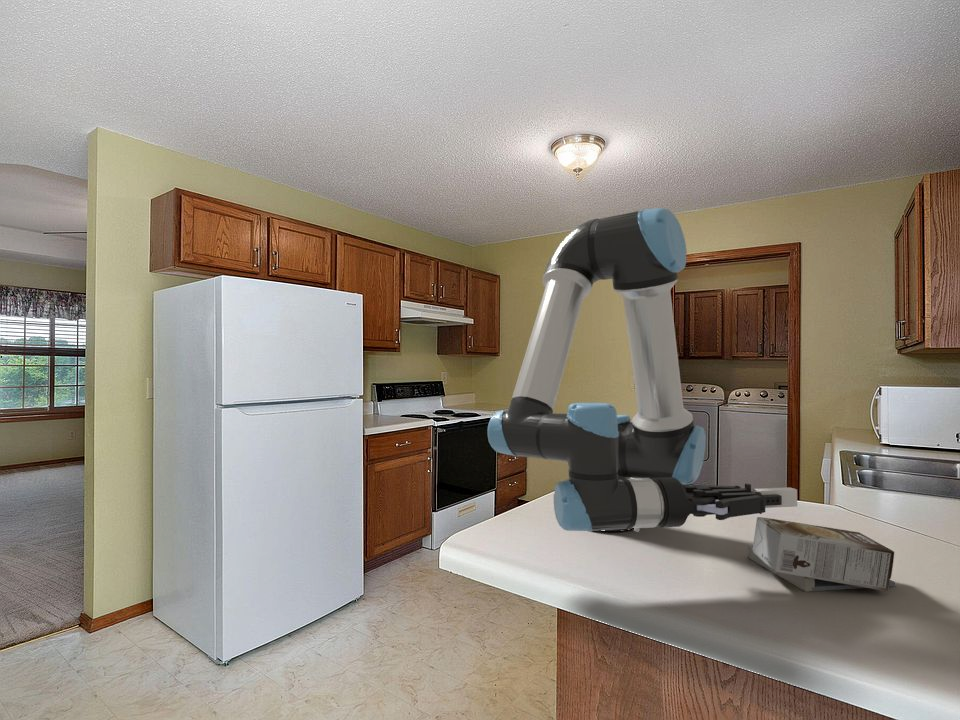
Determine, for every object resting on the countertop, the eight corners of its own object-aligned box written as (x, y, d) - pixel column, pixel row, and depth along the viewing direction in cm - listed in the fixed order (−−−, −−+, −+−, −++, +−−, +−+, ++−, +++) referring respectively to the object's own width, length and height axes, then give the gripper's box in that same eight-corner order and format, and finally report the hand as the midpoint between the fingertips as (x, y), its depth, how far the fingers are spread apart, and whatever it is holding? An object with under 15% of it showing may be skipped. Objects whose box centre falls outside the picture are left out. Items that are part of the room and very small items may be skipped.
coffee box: (756, 514, 88) (858, 530, 86) (751, 552, 88) (852, 568, 86) (781, 533, 79) (896, 551, 77) (775, 574, 79) (889, 593, 77)
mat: (748, 557, 93) (748, 546, 93) (825, 553, 95) (825, 542, 95) (805, 591, 79) (805, 578, 79) (895, 586, 81) (895, 573, 81)
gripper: (637, 514, 88) (767, 509, 91) (674, 540, 75) (825, 533, 78) (636, 470, 88) (767, 465, 91) (673, 488, 75) (824, 482, 78)
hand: (793, 496), depth 84 cm, fingers closed
